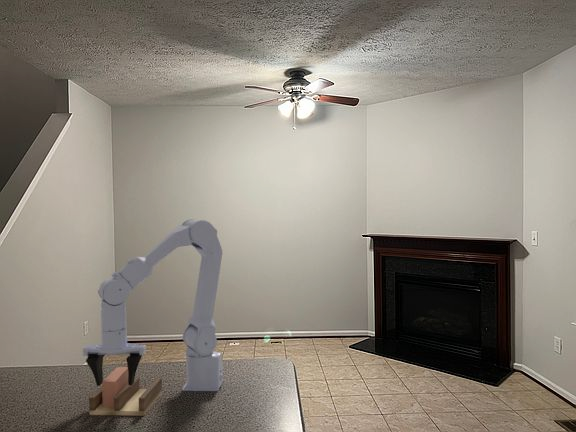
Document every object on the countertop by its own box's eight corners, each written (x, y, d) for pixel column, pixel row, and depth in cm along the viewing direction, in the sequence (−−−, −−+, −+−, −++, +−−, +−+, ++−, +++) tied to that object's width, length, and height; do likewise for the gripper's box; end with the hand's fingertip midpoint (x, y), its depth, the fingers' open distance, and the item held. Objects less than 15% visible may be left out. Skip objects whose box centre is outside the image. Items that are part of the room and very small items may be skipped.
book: (129, 390, 123) (128, 367, 123) (115, 407, 113) (115, 381, 113) (117, 390, 123) (116, 367, 123) (102, 407, 113) (102, 382, 113)
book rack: (162, 393, 124) (161, 377, 124) (144, 415, 111) (143, 398, 111) (113, 392, 125) (112, 377, 124) (89, 414, 112) (89, 397, 112)
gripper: (148, 323, 121) (150, 377, 122) (90, 324, 121) (92, 378, 122) (140, 331, 114) (141, 388, 115) (78, 332, 114) (80, 389, 115)
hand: (115, 384), depth 118 cm, fingers open, 7 cm apart
